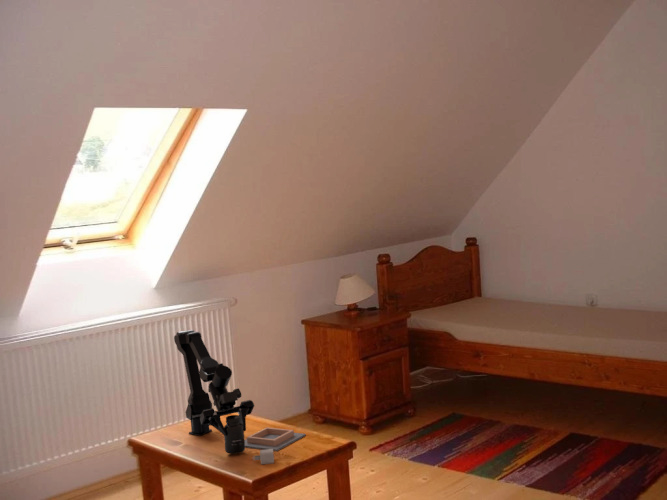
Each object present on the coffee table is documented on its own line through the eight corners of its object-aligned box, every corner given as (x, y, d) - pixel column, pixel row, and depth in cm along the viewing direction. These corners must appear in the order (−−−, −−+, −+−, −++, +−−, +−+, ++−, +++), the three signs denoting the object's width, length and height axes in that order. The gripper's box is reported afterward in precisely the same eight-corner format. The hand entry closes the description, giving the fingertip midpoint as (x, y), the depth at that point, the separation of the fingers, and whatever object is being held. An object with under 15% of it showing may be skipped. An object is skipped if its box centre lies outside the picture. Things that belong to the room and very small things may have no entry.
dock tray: (235, 446, 283) (234, 439, 282) (265, 431, 298) (265, 424, 298) (276, 451, 273) (276, 443, 273) (305, 435, 288) (305, 428, 288)
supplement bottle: (237, 455, 269) (233, 420, 268) (221, 453, 273) (218, 418, 272) (249, 448, 275) (246, 414, 274) (234, 446, 279) (231, 413, 278)
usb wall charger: (274, 463, 261) (273, 451, 260) (253, 466, 260) (251, 454, 260) (274, 459, 265) (272, 448, 264) (253, 462, 264) (252, 450, 264)
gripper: (199, 387, 271) (214, 426, 262) (249, 377, 280) (266, 414, 271) (193, 405, 278) (208, 444, 270) (242, 394, 288) (258, 431, 279)
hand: (235, 433), depth 272 cm, fingers closed on supplement bottle, 7 cm apart
